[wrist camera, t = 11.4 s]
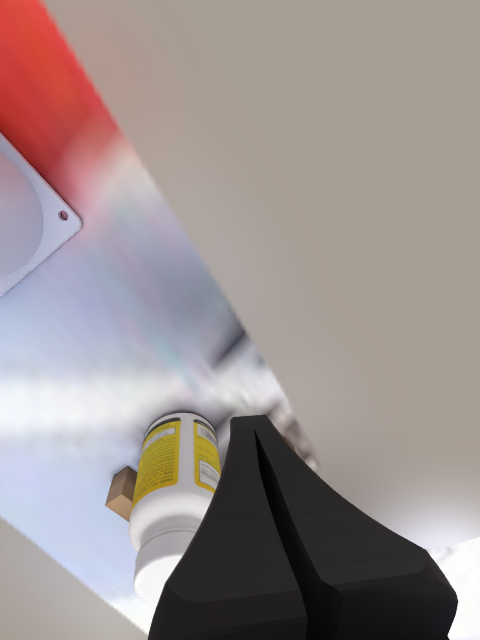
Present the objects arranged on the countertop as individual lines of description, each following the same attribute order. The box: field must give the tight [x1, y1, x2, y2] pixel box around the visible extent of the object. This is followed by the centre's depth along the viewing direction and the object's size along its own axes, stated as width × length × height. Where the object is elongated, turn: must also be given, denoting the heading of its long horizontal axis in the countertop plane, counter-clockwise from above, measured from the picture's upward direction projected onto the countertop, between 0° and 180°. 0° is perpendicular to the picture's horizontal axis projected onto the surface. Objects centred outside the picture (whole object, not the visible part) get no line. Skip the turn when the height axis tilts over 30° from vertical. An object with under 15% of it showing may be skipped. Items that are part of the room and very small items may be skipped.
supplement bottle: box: [129, 413, 221, 607], centre depth 20 cm, size 5×5×10 cm
